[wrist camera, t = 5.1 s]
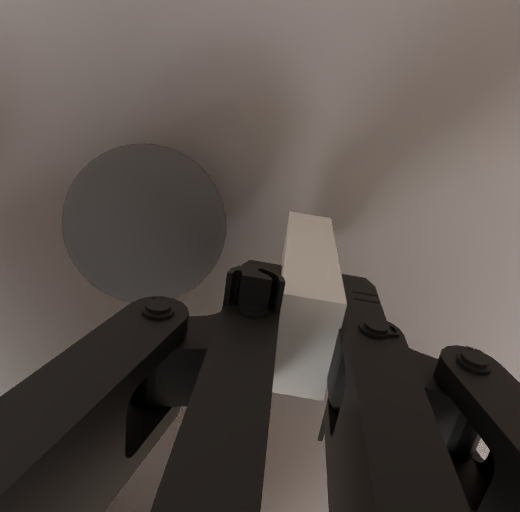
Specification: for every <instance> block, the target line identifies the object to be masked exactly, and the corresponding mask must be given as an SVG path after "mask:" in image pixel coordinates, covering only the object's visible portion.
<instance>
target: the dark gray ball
mask: <svg viewBox="0 0 520 512" xmlns="http://www.w3.org/2000/svg"><path fill="white" fill-rule="evenodd" d="M62 232H63V237H64V242H65V245H66V248H67V250H68V253H69V256H70V258H71V259H72V261H73V263H74V265H75V266H76V267H77V269H78V270H79V272H80V273H81V274H82V275H83V276H84V277H85V278H86V279H87V280H88V281H89V282H90V283H91V284H92V285H94V286H95V287H96V288H98V289H99V290H101V291H102V292H104V293H106V294H108V295H110V296H113V297H115V298H118V299H121V300H124V301H129V302H134V301H136V300H138V299H141V298H146V297H150V296H165V297H167V298H176V297H179V296H181V295H183V294H185V293H187V292H188V291H190V290H191V289H193V288H194V287H195V286H197V285H198V284H199V283H200V282H201V281H202V280H203V279H204V278H205V277H206V276H207V275H208V274H209V273H210V271H211V270H212V269H213V267H214V266H215V264H216V262H217V260H218V258H219V256H220V254H221V251H222V248H223V244H224V240H225V234H226V215H225V209H224V205H223V202H222V199H221V196H220V194H219V192H218V190H217V188H216V186H215V184H214V182H213V181H212V179H211V178H210V176H209V175H208V174H207V173H206V172H205V171H204V170H203V169H202V168H201V167H200V166H199V165H198V164H197V163H196V162H194V161H193V160H192V159H190V158H189V157H187V156H186V155H184V154H182V153H180V152H178V151H176V150H173V149H170V148H167V147H164V146H159V145H153V144H132V145H127V146H122V147H118V148H115V149H112V150H110V151H108V152H106V153H104V154H102V155H100V156H99V157H97V158H95V159H94V160H92V161H91V162H90V163H89V164H88V165H87V166H86V167H85V168H84V169H83V170H82V171H81V172H80V173H79V175H78V176H77V177H76V179H75V180H74V182H73V184H72V185H71V187H70V189H69V191H68V194H67V196H66V199H65V203H64V207H63V215H62Z"/></svg>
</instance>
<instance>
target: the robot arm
mask: <svg viewBox="0 0 520 512" xmlns="http://www.w3.org/2000/svg"><path fill="white" fill-rule="evenodd" d="M188 316H189V313H188V308H187V307H186V306H185V305H184V304H183V303H182V302H180V301H177V300H175V299H173V298H167V297H165V296H150V297H146V298H141V299H138V300H136V301H134V302H132V303H130V304H129V305H128V306H126V307H125V308H124V309H122V310H121V311H119V312H118V313H117V314H115V315H114V316H112V317H111V318H110V319H108V320H107V321H105V322H104V323H103V324H101V325H100V326H98V327H97V328H96V329H94V330H93V331H91V332H90V333H89V334H87V335H86V336H84V337H83V338H82V339H80V340H79V341H78V342H76V343H75V344H73V345H72V346H71V347H69V348H68V349H66V350H65V351H64V352H62V353H61V354H59V355H58V356H57V357H55V358H54V359H52V360H51V361H50V362H48V363H47V364H45V365H44V366H43V367H41V368H40V369H38V370H37V371H36V372H34V373H33V374H32V375H30V376H29V377H27V378H26V379H25V380H23V381H22V382H20V383H19V384H18V385H16V386H15V387H13V388H12V389H11V390H9V391H8V392H6V393H5V394H4V395H2V396H1V397H0V512H104V511H105V510H106V508H107V507H108V506H109V505H110V503H111V502H112V501H113V499H114V498H115V497H116V495H117V494H118V493H119V491H120V490H121V489H122V487H123V486H124V485H125V483H126V482H127V481H128V480H129V478H130V477H131V476H132V474H133V473H134V472H135V470H136V469H137V468H138V466H139V465H140V464H141V462H142V461H143V460H144V458H145V457H146V456H147V455H148V453H149V452H150V451H151V449H152V448H153V447H154V445H155V444H156V443H157V441H158V440H159V439H160V437H161V436H162V435H163V434H164V432H165V431H166V430H167V428H168V427H169V426H170V424H171V423H172V422H173V420H174V419H175V418H176V416H177V414H178V412H179V410H180V406H187V409H186V412H185V415H184V417H183V420H182V423H181V426H180V429H179V432H178V434H177V437H176V440H175V443H174V446H173V449H172V451H171V454H170V457H169V460H168V463H167V466H166V469H165V471H164V474H163V477H162V480H161V483H160V486H159V488H158V491H157V494H156V497H155V500H154V503H153V505H152V508H151V511H150V512H260V509H261V499H262V489H263V479H264V469H265V458H266V448H267V438H268V428H269V418H270V408H271V398H272V392H273V393H279V394H285V395H290V396H296V397H302V398H307V399H313V400H319V401H323V400H324V396H325V392H326V388H327V387H328V401H327V405H326V409H325V413H324V417H323V421H322V425H321V429H320V433H319V437H318V441H322V440H323V437H324V434H325V447H326V466H327V485H328V504H329V512H520V383H519V382H518V381H517V380H516V379H515V378H514V377H513V376H512V375H511V374H510V373H509V372H508V371H507V370H506V369H505V368H504V367H503V366H502V365H501V364H500V363H498V362H497V361H496V360H494V359H493V358H492V357H490V356H488V355H486V354H484V353H483V352H482V351H480V350H477V349H473V348H471V347H467V346H466V347H464V346H457V345H455V346H447V347H445V348H444V349H442V351H441V353H440V356H439V359H436V358H433V357H430V356H428V355H425V354H422V353H419V352H417V351H414V350H412V349H410V348H409V347H408V344H407V342H406V339H405V337H404V335H403V333H402V332H401V330H400V329H399V328H397V327H396V326H395V325H393V324H392V323H390V322H388V321H386V318H385V315H384V312H383V309H382V306H381V304H380V300H379V297H378V294H377V291H376V288H375V286H374V285H373V284H372V283H370V282H369V281H368V280H367V279H366V278H362V277H356V276H350V275H344V274H341V269H340V264H339V259H338V253H337V248H336V243H335V237H334V232H333V227H332V221H331V218H327V217H321V216H315V215H309V214H303V213H297V212H289V218H288V224H287V230H286V235H285V241H284V247H283V253H282V258H281V264H280V265H277V264H271V263H265V262H259V261H253V260H249V261H248V262H246V263H244V264H243V265H241V266H237V267H234V268H231V269H230V270H229V271H228V272H227V278H226V286H225V294H224V302H223V307H222V310H221V312H219V313H216V314H213V315H208V316H191V317H188ZM481 438H482V440H483V441H484V442H485V444H486V445H487V446H488V448H489V450H490V452H489V454H488V456H487V458H486V460H485V461H484V460H483V459H482V458H481V456H480V455H479V454H478V452H477V451H476V448H477V446H478V443H479V441H480V439H481Z"/></svg>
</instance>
